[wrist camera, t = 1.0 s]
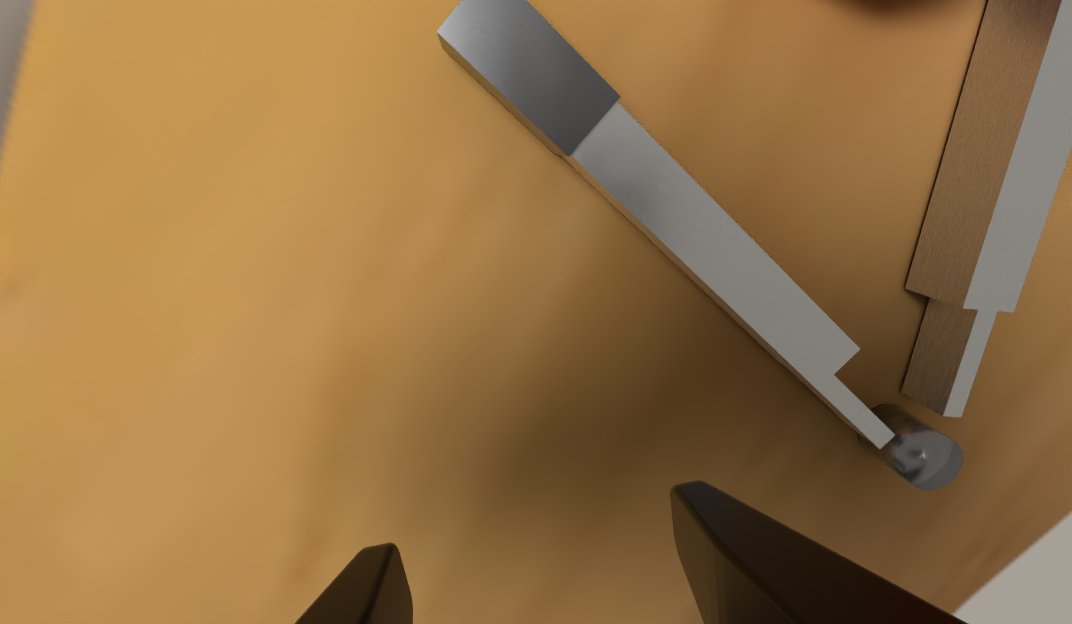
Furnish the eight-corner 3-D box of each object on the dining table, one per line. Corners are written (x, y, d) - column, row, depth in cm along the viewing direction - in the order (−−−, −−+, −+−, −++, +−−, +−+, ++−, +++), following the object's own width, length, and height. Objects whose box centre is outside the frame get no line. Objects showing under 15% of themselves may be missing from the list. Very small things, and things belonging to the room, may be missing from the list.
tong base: (899, 452, 22) (958, 495, 20) (852, 450, 22) (905, 493, 19) (1111, -224, 16) (1239, -297, 14) (1049, -237, 16) (1167, -314, 13)
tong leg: (881, 386, 21) (937, 420, 19) (841, 424, 21) (890, 463, 19) (488, -9, 16) (490, -37, 14) (442, 48, 16) (436, 31, 14)
